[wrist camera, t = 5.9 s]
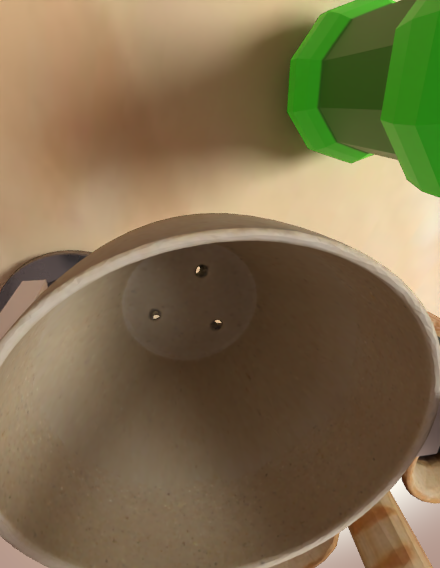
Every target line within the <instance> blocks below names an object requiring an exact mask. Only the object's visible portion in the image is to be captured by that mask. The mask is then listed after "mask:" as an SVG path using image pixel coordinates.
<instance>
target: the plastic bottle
mask: <svg viewBox="0 0 440 568" xmlns="http://www.w3.org/2000/svg"><path fill="white" fill-rule="evenodd" d="M287 113H288V115H289V116H290V118H291V120H292V122H293V123H294V125H295V127H296V129H297V130H298V132H299V134H300V136H301V137H302V139H303V141H304V143H305V144H306V146H307V148H308V149H310V150H313V151H316V152H319V153H322V154H324V155H327V156H330V157H333V158H336V159H339V160H342V161H345V162H348V163H353V162H356V161H359V160H361V159H364V158H366V157H369V156H372V155H374V154H375V155H380V156H384V157H388V158H392V159H397V160H398V161H399V163H400V165H401V167H402V170H403V172H404V174H405V176H406V179H407V180H408V181H409V182H411V183H412V184H413V185H414V186H416V187H417V188H418V189H420V190H421V191H422V192H425V193H428V194H431V195H434V196H437V197H440V0H401V1H398V2H395V1H393V0H355V1H353V2H350V3H347V4H345V5H342V6H339V7H337V8H334V9H331V10H329V11H327V12H325V13H323V14H321V15H320V16H319V18H318V19H317V21H316V22H315V24H314V25H313V27H312V28H311V30H310V31H309V33H308V34H307V36H306V37H305V39H304V40H303V42H302V43H301V45H300V46H299V48H298V49H297V51H296V52H295V54H294V55H293V57H292V58H291V60H290V73H289V88H288V104H287Z"/></svg>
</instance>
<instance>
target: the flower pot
mask: <svg viewBox="0 0 440 568" xmlns="http://www.w3.org/2000/svg"><path fill="white" fill-rule="evenodd" d="M198 266H200V271H199V272H198V273H196V269H197V267H198ZM154 315H159V316H160V317H158V318H156V319H152V316H154ZM215 320H220V321H221V323H216V322H215ZM439 402H440V344H439V340H438V337H437V334H436V331H435V328H434V325H433V322H432V320H431V318H430V316H429V315H428V313H427V311H426V309H425V308H424V306H423V304H422V303H421V302H420V300H419V299H418V298H417V296H416V295H415V294H414V293H413V292H412V291H411V289H410V288H409V287H408V286H407V285H406V284H405V283H404V282H403V281H402V280H401V279H400V278H398V277H397V276H396V275H395V274H394V273H392V272H391V271H390V270H389V269H388V268H386V267H385V266H383V265H382V264H380V263H379V262H377V261H375V260H374V259H372V258H371V257H369V256H367V255H365V254H363V253H362V252H360V251H358V250H356V249H354V248H352V247H349V246H347V245H345V244H343V243H341V242H339V241H336V240H334V239H331V238H329V237H326V236H324V235H321V234H319V233H316V232H313V231H310V230H307V229H304V228H301V227H298V226H294V225H290V224H286V223H283V222H279V221H275V220H270V219H265V218H260V217H255V216H248V215H238V214H228V213H208V214H193V215H185V216H178V217H173V218H169V219H165V220H161V221H157V222H154V223H150V224H148V225H145V226H142V227H140V228H137V229H135V230H132V231H130V232H128V233H126V234H124V235H122V236H120V237H118V238H116V239H114V240H112V241H110V242H109V243H107V244H105V245H103V246H102V247H100V248H98V249H97V250H95V251H94V252H92V253H91V254H89V255H88V256H87V257H85V258H84V259H82V260H81V261H80V262H78V263H77V264H76V265H74V266H73V267H72V268H71V269H69V270H68V271H67V272H66V273H64V274H63V275H62V276H61V277H59V278H58V279H57V280H56V281H55V282H54V283H53V284H51V285H50V286H49V287H48V288H47V289H46V290H45V291H44V292H43V293H41V294H40V296H39V297H38V298H37V299H36V300H35V301H34V302H33V303H32V304H31V305H30V306H29V307H28V308H27V309H26V310H25V312H24V313H23V314H22V315H21V316H20V317H19V318H18V319H17V321H16V322H15V323H14V324H13V325H12V326H11V328H10V329H9V330H8V331H7V332H6V334H5V335H4V336H3V337H2V338H1V339H0V536H1V537H2V538H3V539H4V540H6V541H7V542H8V543H10V544H11V545H12V546H13V547H14V548H16V549H17V550H19V551H20V552H22V553H23V554H25V555H26V556H28V557H30V558H32V559H33V560H35V561H37V562H39V563H41V564H42V565H44V566H47V567H49V568H269V567H272V566H274V565H277V564H280V563H282V562H284V561H287V560H289V559H292V558H294V557H296V556H298V555H301V554H303V553H305V552H307V551H308V550H310V549H312V548H314V547H316V546H318V545H320V544H322V543H323V542H325V541H327V540H329V539H330V538H332V537H334V536H335V535H337V534H338V533H340V532H341V531H342V530H344V529H345V528H347V527H348V526H350V525H351V524H352V523H353V522H355V521H356V520H357V519H359V518H360V517H361V516H363V515H364V514H365V513H366V512H367V511H368V510H370V509H371V508H372V507H373V506H374V505H375V504H376V503H377V502H378V501H379V500H381V499H382V498H383V497H384V496H385V495H386V493H387V492H388V491H389V490H390V489H391V488H392V487H393V486H394V485H395V484H396V483H397V481H398V480H399V479H400V478H401V477H402V475H403V474H404V473H405V471H406V470H407V469H408V467H409V466H410V465H411V463H412V462H413V460H414V459H415V457H416V456H417V454H418V453H419V451H420V449H421V448H422V446H423V445H424V443H425V441H426V439H427V437H428V435H429V433H430V430H431V428H432V426H433V423H434V420H435V418H436V415H437V411H438V407H439Z"/></svg>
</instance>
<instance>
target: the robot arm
mask: <svg viewBox="0 0 440 568" xmlns="http://www.w3.org/2000/svg"><path fill="white" fill-rule="evenodd" d="M47 288H48V286H47V282H46V280H33V281H22V282H21V284H20V285H19V287H18V288H17V289H16V291H15V292H14V294H13V295H12V297H11V298H10V299H9V301H8V302H7V304H6V305H5V307H4V308H3V309H2V311H1V312H0V339H1V338H2V337H3V336H4V335H5V334H6V332H7V331H8V330H9V329H10V328H11V326H12V325H13V324H14V323H15V322H16V321H17V319H18V318H19V317H20V316H21V315H22V314H23V313H24V312H25V310H26V309H27V308H28V307H29V306H30V305H31V304H32V303H33V302H34V301H35V300H36V299H37V298H38V297H39V296H40V294H41V293H43V292H44V291H45V290H46V289H47ZM437 337H438V340H439V344H440V337H439V336H437ZM439 447H440V402H439V407H438V411H437V415H436V418H435V420H434V423H433V426H432V428H431V430H430V433H429V435H428V437H427V439H426V441H425V443H424V445H423V446H422V448H421V449H420V451H419V453H418V454H417V456H416V457H418V456H424V455H431V454H437V452H438V449H439Z"/></svg>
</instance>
